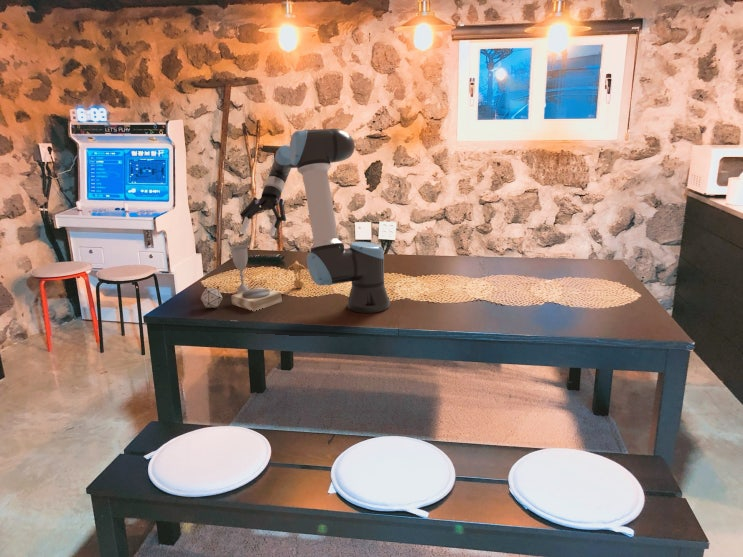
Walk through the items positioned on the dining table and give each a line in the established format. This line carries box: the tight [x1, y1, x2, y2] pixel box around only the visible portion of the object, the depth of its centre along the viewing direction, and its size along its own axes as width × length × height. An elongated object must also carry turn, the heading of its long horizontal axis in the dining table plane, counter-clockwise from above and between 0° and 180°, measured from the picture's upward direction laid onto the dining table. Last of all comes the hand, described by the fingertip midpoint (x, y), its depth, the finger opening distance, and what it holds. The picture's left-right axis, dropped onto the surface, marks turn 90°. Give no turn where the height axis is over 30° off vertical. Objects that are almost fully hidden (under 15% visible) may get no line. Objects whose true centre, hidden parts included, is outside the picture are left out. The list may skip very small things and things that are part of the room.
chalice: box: [230, 244, 250, 294], centre depth 233 cm, size 7×7×18 cm
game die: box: [197, 286, 226, 310], centre depth 216 cm, size 9×8×10 cm
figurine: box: [286, 260, 309, 289], centre depth 235 cm, size 8×6×12 cm
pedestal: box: [231, 286, 283, 312], centre depth 221 cm, size 13×13×4 cm
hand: (256, 233), depth 239 cm, fingers open, 13 cm apart
